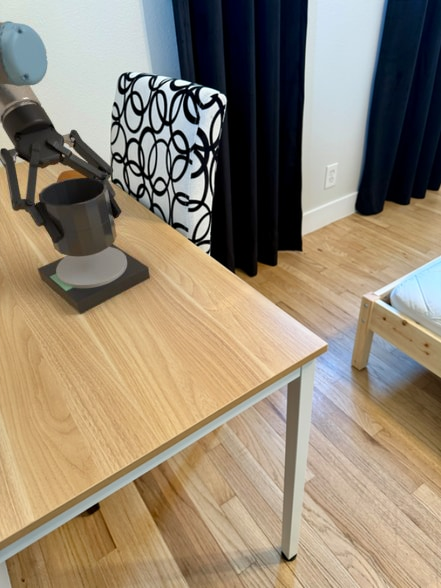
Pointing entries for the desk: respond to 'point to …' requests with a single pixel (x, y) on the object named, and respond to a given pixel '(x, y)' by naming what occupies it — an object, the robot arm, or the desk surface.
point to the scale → (93, 277)
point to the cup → (80, 215)
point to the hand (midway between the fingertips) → (89, 227)
